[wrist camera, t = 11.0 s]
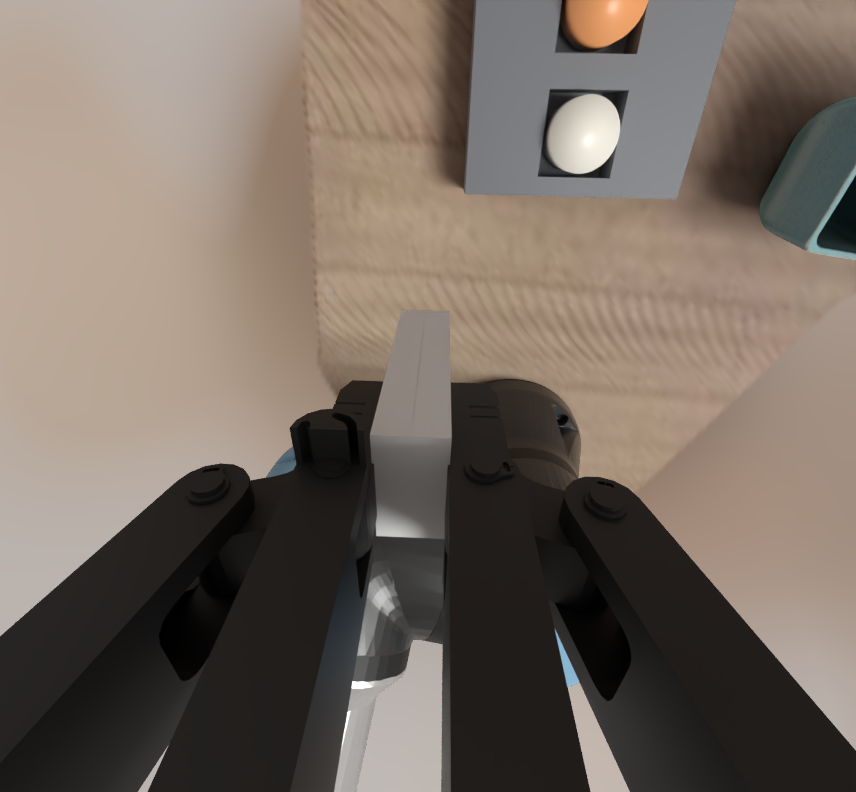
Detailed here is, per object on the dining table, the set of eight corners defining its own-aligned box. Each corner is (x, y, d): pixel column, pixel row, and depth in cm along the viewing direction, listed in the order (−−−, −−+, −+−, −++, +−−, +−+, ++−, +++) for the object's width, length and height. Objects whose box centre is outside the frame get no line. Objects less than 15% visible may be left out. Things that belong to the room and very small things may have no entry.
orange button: (623, 52, 27) (639, 45, 25) (554, 51, 27) (564, 43, 25) (643, -44, 25) (662, -61, 23) (567, -45, 25) (579, -62, 23)
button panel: (655, 193, 33) (676, 199, 30) (463, 188, 33) (465, 193, 30) (778, -253, 22) (830, -314, 19) (488, -254, 22) (494, -314, 19)
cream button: (599, 171, 31) (610, 174, 28) (538, 170, 31) (545, 173, 29) (614, 97, 28) (628, 94, 26) (548, 96, 28) (556, 93, 26)
